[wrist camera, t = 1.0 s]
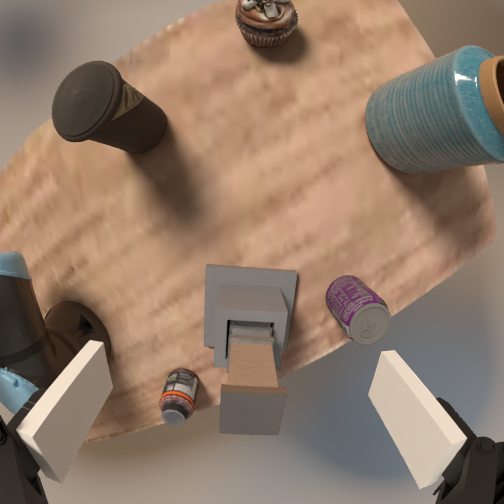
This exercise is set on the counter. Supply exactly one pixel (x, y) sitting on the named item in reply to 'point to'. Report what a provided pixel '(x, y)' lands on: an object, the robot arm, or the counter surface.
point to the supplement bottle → (179, 396)
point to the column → (251, 382)
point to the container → (106, 110)
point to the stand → (247, 305)
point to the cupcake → (266, 21)
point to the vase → (441, 114)
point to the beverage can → (358, 310)
